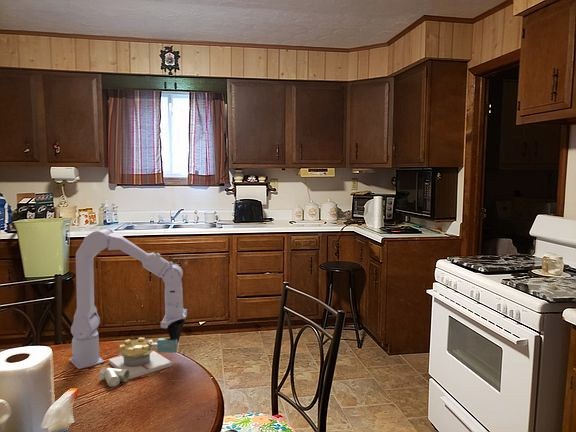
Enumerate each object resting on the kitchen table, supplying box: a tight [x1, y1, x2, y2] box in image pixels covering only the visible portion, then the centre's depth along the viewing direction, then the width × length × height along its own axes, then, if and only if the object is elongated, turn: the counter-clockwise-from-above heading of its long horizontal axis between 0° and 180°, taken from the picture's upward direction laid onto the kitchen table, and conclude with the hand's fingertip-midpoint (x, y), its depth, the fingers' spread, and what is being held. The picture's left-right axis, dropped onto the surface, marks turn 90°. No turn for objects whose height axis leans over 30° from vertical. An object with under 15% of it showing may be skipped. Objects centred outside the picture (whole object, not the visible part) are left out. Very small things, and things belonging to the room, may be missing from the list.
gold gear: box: [119, 337, 178, 358], centre depth 145 cm, size 18×10×4 cm, turn 87°
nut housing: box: [108, 350, 173, 380], centre depth 146 cm, size 16×14×4 cm
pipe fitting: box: [99, 366, 130, 388], centre depth 133 cm, size 8×4×7 cm
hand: (175, 342), depth 150 cm, fingers closed
